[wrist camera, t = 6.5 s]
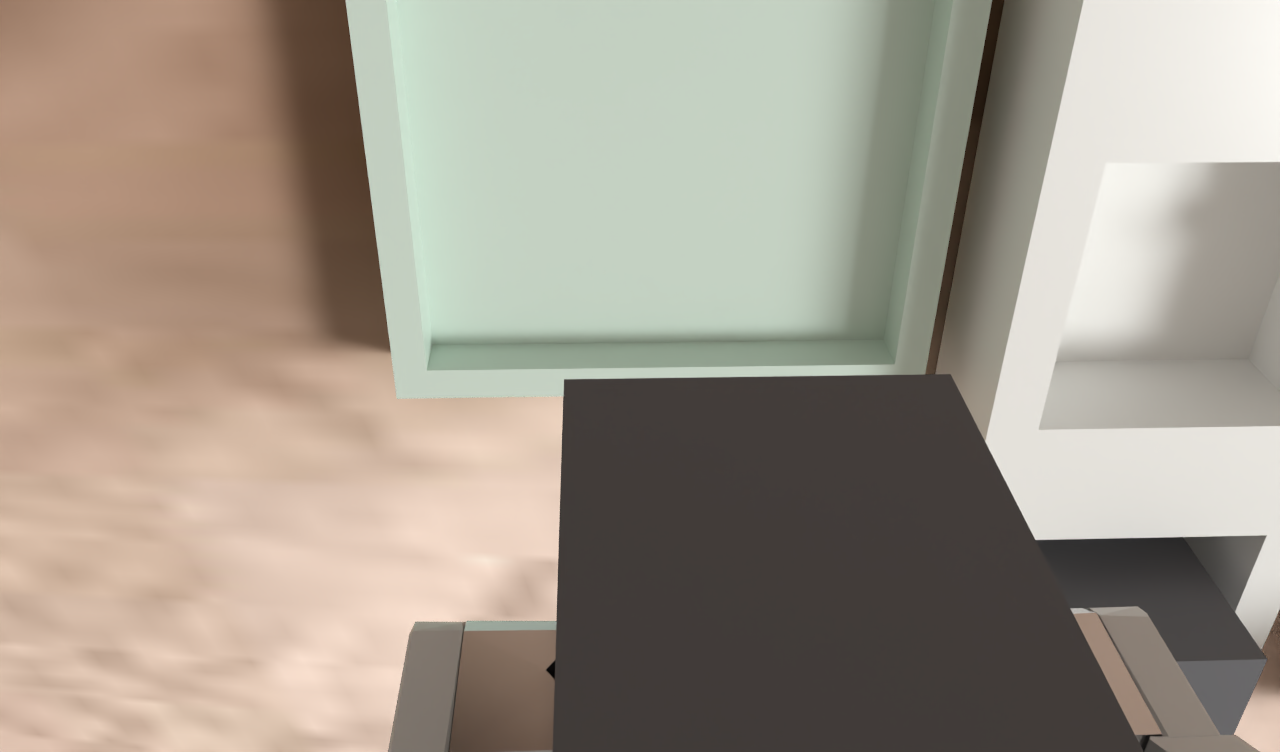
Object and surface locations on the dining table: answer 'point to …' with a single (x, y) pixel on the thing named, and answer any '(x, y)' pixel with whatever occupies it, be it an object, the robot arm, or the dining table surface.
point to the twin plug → (1167, 611)
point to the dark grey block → (806, 577)
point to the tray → (661, 185)
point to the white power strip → (1131, 279)
